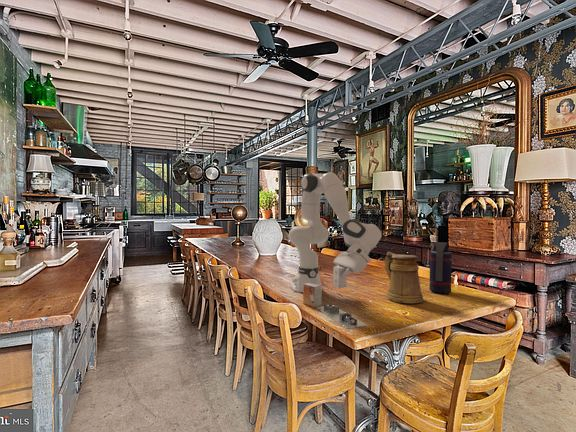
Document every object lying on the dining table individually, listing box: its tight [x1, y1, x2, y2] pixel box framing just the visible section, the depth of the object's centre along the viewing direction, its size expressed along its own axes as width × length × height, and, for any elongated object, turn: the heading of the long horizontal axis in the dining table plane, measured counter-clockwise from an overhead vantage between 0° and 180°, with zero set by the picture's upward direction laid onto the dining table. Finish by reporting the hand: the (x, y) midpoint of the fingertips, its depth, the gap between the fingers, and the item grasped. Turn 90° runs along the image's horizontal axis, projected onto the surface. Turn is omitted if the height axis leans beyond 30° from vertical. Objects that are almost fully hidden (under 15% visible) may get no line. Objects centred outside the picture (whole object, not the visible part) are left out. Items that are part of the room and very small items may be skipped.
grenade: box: [428, 241, 453, 295], centre depth 197 cm, size 14×12×30 cm
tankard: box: [384, 251, 424, 304], centre depth 183 cm, size 18×24×25 cm
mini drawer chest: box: [332, 265, 347, 289], centre depth 153 cm, size 5×4×9 cm
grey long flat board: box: [315, 303, 368, 330], centre depth 154 cm, size 30×10×4 cm, turn 21°
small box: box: [302, 283, 323, 308], centre depth 172 cm, size 8×6×10 cm
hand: (338, 275), depth 153 cm, fingers closed on mini drawer chest, 5 cm apart
